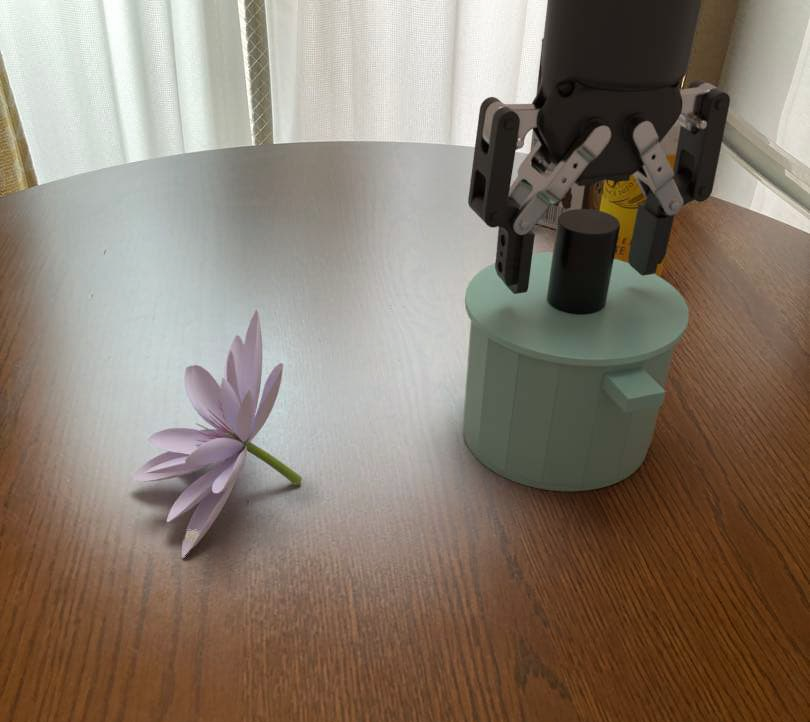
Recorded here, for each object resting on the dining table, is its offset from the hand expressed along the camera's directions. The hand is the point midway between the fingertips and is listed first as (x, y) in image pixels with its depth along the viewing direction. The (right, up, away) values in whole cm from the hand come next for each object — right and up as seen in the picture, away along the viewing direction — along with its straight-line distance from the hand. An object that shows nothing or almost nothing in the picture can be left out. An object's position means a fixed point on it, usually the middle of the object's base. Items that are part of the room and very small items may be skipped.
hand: (579, 278), depth 55 cm
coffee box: (+6, +16, +35) cm, 39 cm away
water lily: (-22, -13, +3) cm, 26 cm away
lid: (0, -1, +1) cm, 2 cm away
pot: (0, -8, +8) cm, 12 cm away
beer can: (+9, +7, +25) cm, 27 cm away
